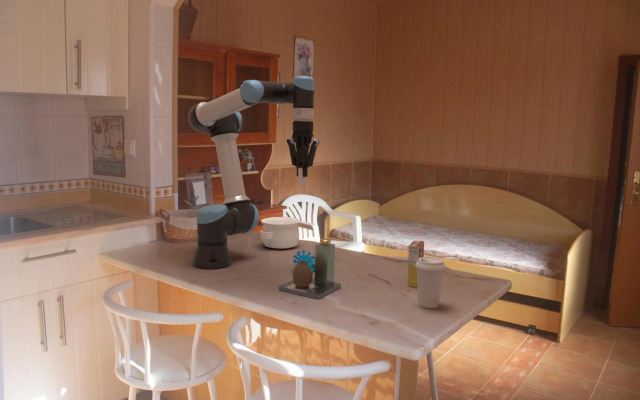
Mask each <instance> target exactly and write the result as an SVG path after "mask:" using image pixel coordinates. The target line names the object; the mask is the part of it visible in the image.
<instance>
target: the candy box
mask: <svg viewBox="0 0 640 400" xmlns="http://www.w3.org/2000/svg"><path fill="white" fill-rule="evenodd" d="M407 256H408V257H407V287H410V288H412V287H413V288H417V289H418V283H417V267H416V266H415V265H416V262H417V261H418V259H419V258H421V257H425V241H424V240H415V239H414V240H413V241H412V242H411V243H410V244H409V245H408V255H407Z"/></svg>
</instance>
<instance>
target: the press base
mask: <svg viewBox="0 0 640 400" xmlns="http://www.w3.org/2000/svg"><path fill="white" fill-rule="evenodd" d="M314 250H315V252H314V255H315V259H314V260H315V269H314V277H313V278H312V282H311V284H310V285H309V286H308V287H306V288H299V287H297V286H296V285H295V284H294V282H293V279H292V280H290V281H288V282H285V283H283V284H282V285H279V286H278V291H280V292H283V291H284V293H288V294H293V295H297V296H301V295H302V296H303V297H306V296H307V298H310V297H312V298H311V299H315V298H316V299H315V300H320V299H323V298H325V297H326V296H328V295H330V294H332V293H334V292H335V291H337V290H340V289H341V286H342V285H341V284H342V283H339V282H335V258H336V254H335V253H336V243H332V242H331V243H329V245H328V246H324V245H322V243H320V242H319V243H316V244H315V249H314Z"/></svg>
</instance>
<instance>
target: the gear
mask: <svg viewBox="0 0 640 400" xmlns="http://www.w3.org/2000/svg"><path fill="white" fill-rule="evenodd" d="M311 254H312V253H311V252H310V251H308V252H307V254H306V250H304V249H302V251H301V250H298V251H297V252H296V253H295V254H294V255H293V260H292V262H293V264H295V265H294V266H295V267H296V266H297V265H298V263H299V261H306V262H307V264H308V266H309V267H310V268H311V270H312V273H313V272H314V273H315V254H313V255H312V256H311ZM295 267H294V268H295Z"/></svg>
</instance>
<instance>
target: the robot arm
mask: <svg viewBox="0 0 640 400" xmlns="http://www.w3.org/2000/svg"><path fill="white" fill-rule="evenodd" d="M260 103H261V104H262V103H263V104H277V105H282V104H283V105H287V104H292V120H293V121H292V132H293V133H292V135H291V137H290V138H289V139H286V143H287V145H288V150H289V156H290V159H291V165H292V166H293V167H296V176H297V178H298V180H297V181H298V182H297V186H298V187H304V186H306V184H307V183H306V182H307V181H306V180H307V179H306V178H308V174H309V173H308V171H309V170H308V168H310V167H313V165H314V161H315V157H316V151H317V148H318V146H319V144H320V140H317V139H316V138H315V136H314V133H313V132H314V121H313V120H314V119H315V114H314V113H315V107H314V106H315V105H314V104H315V79H314V78H313V76H306V75H305V76H300V75H299V76H294V77H293V80H292V82H278V81H277V82H276V81H268V80H267V81H265V80H257V79H251V80H250V79H247V80H244V81H243V82H242V84H241V85H240V87H239V88H237V89H234V90H233V91H230V92H228V93H226V94H223V95H221V96H219V97H216V98H215V99H213V100H211V101H208V102H207V101H201V102H199V103H197V104H195V105H194V106H192V107H191V108H190V109H189V112H188V114H187V120H188V123H189V126H190V127H191V128H192V129H193V130H194V131H195V132H197V133H200V134H209V136H210V137H209V138H210V140H211V142H213V143H214V144H215V147H216V148H215V149H216V150H215V151H216V154H217V161H218V166H219V173H220V179H221V183H222V188H223V189H222V190H223V194H224V201H223V202H222V204H221V203H216V204H215V203H214V204H208V205H205V206H201V207H200V208H199V209H198V211H197V215H196V216H197V217H196V223H197V225H196V226H197V228H196V229H197V233H196V235H197V237H196V238H197V239H196V240H197V244H196V249H195V252H194V256H193V259H192V265H193V266H194V267H196V268H199V269H204V270H205V269H207V270H208V269H209V270H216V269H222V268H226V267H229V266H231V265H232V263H233V261H232V259H233V258H232V255H231V253H230V250H229V247H228V237H229V236H234V235H236V236H237V235H241V234H246V233H249V232H252V231H254V230H255V229H256V228H257V225H259V220H260V215H259V209H258V208H257V207H256V205H254V204H253V203H251V199H250V198H249V197H248V196H247V195H246V190H245V184H244V179H243V174H242V168H241V167H242V166H241V162H240V156H239V151H238V145H237V138H238V137H239V132H240V131H241V130H242V125H243V120H242V115H241V113H240V111H243V110H245V109H248V108H250V107H252V106H256V105H258V104H260ZM310 144H311V145H310Z"/></svg>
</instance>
